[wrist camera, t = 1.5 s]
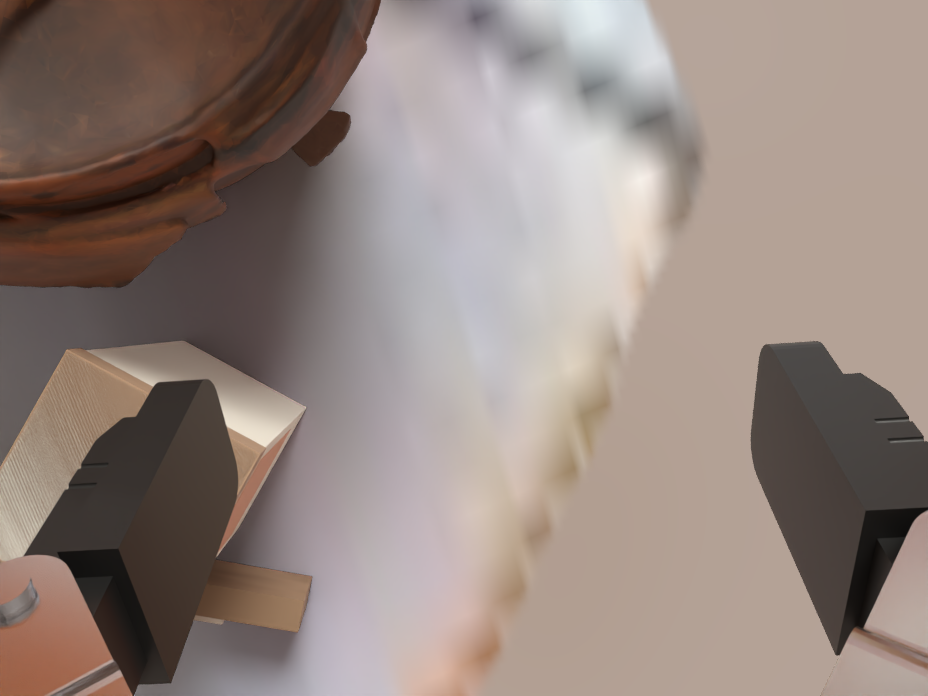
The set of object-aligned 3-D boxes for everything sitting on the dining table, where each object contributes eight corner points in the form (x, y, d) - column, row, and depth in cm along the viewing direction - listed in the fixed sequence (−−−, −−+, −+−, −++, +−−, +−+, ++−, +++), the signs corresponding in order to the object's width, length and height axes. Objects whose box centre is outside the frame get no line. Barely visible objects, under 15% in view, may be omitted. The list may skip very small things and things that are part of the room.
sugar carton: (239, 529, 34) (155, 640, 22) (113, 462, 34) (-42, 540, 22) (308, 407, 34) (260, 453, 23) (183, 338, 34) (66, 349, 22)
